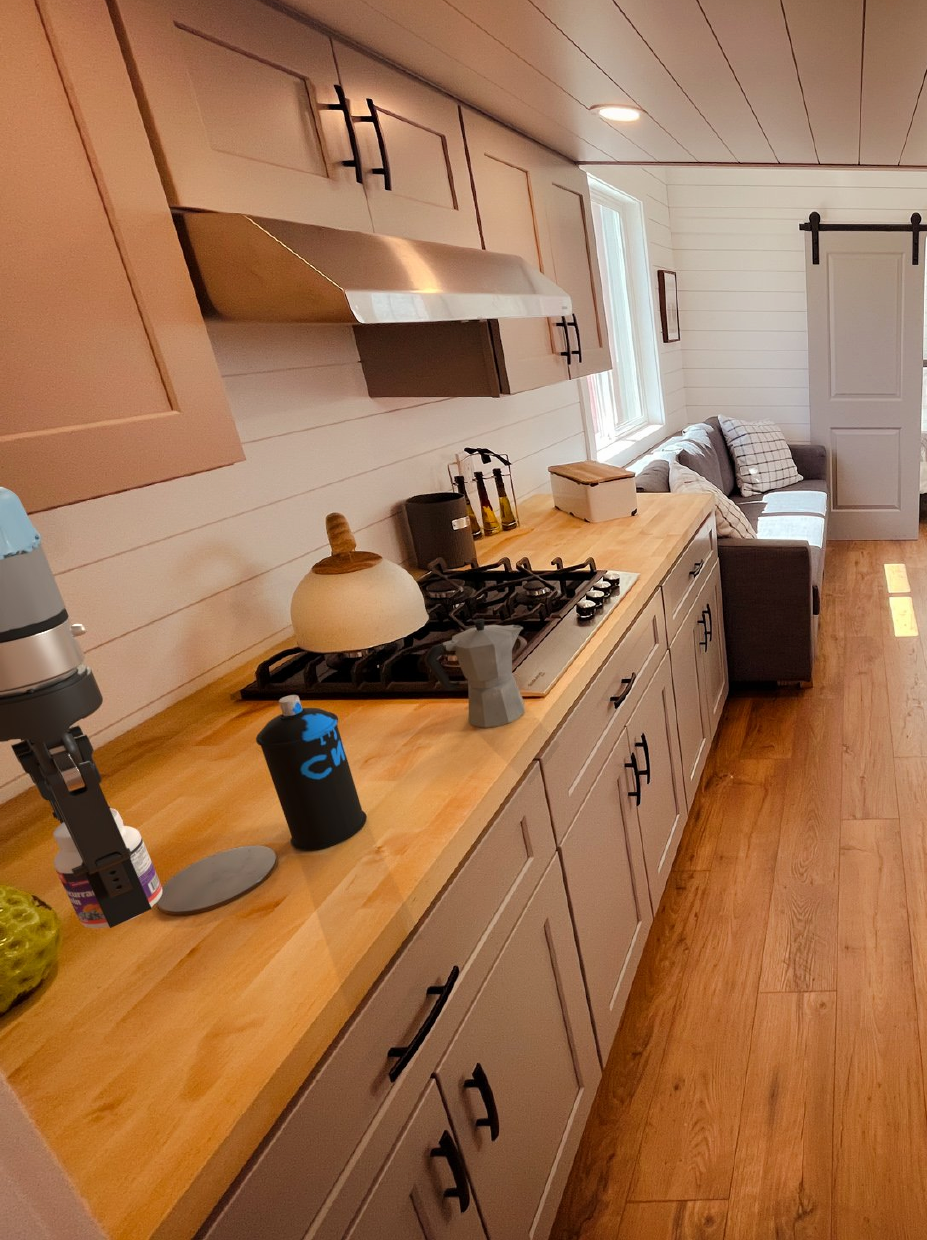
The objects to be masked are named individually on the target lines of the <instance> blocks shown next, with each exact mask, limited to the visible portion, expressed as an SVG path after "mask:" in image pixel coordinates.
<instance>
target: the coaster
mask: <svg viewBox="0 0 927 1240" xmlns="http://www.w3.org/2000/svg"><path fill="white" fill-rule="evenodd" d="M278 861H279V859H278V855H277V853H276V852H275V850H274V849H272V848H270V847H268V846H265V845H256V844H255V845H254V844H253V845H243V846H236V847H233V848H229V849H225V850H221V851H219V852H215V853H213V854H211V855H209V856H205V857H204V858H201V859H199V860H197V861H195V862H193V863H191V864H190V865H188V866H186V867H184V868H182V869H181V870H180V871H179V872H177V873H175V874H174V875H173V876H171V877H170V878H169V879H168V880H167V881H166V882H165V883H164V884H163V885H162V886H161V887H162V895H161V897H160V899H159V900H158V901H157V902H156V906H157V907H158V908H157V909H158V910H159V911H160V912H161V913H163V914H165V915H167V916H168V915H169V916H174V917H175V916H176V917H177V916H178V917H180V916H191V915H197V914H202V913H205V912H209V911H212V910H215V909H218V908H221V907H223V906H226V905H228V904H231V903H232V902H235V901H237V900H239V899H241V898H242V897H244V896H246V895H248V894H249V893H251V892H253V891H254V890H255V889H257V888H258V887H260V886H261V885H262V884H264V882H266V881H267V880H268V878H269V877H271V875H272V874H273V873H274V871H275V870H276V868H277V865H278Z"/></svg>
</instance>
